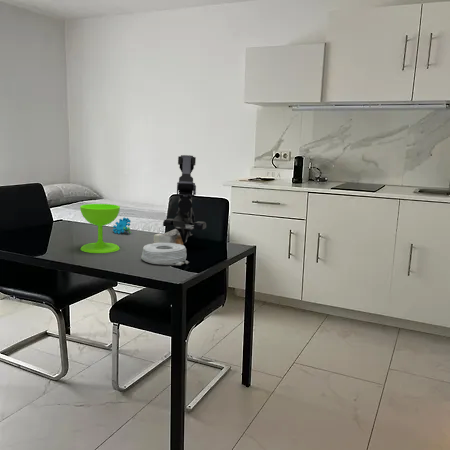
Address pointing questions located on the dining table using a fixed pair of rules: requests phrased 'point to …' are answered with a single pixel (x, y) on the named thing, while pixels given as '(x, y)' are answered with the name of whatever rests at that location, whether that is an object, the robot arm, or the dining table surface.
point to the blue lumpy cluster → (122, 226)
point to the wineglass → (100, 225)
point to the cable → (164, 254)
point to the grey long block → (170, 237)
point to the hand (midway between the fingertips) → (184, 243)
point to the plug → (156, 237)
